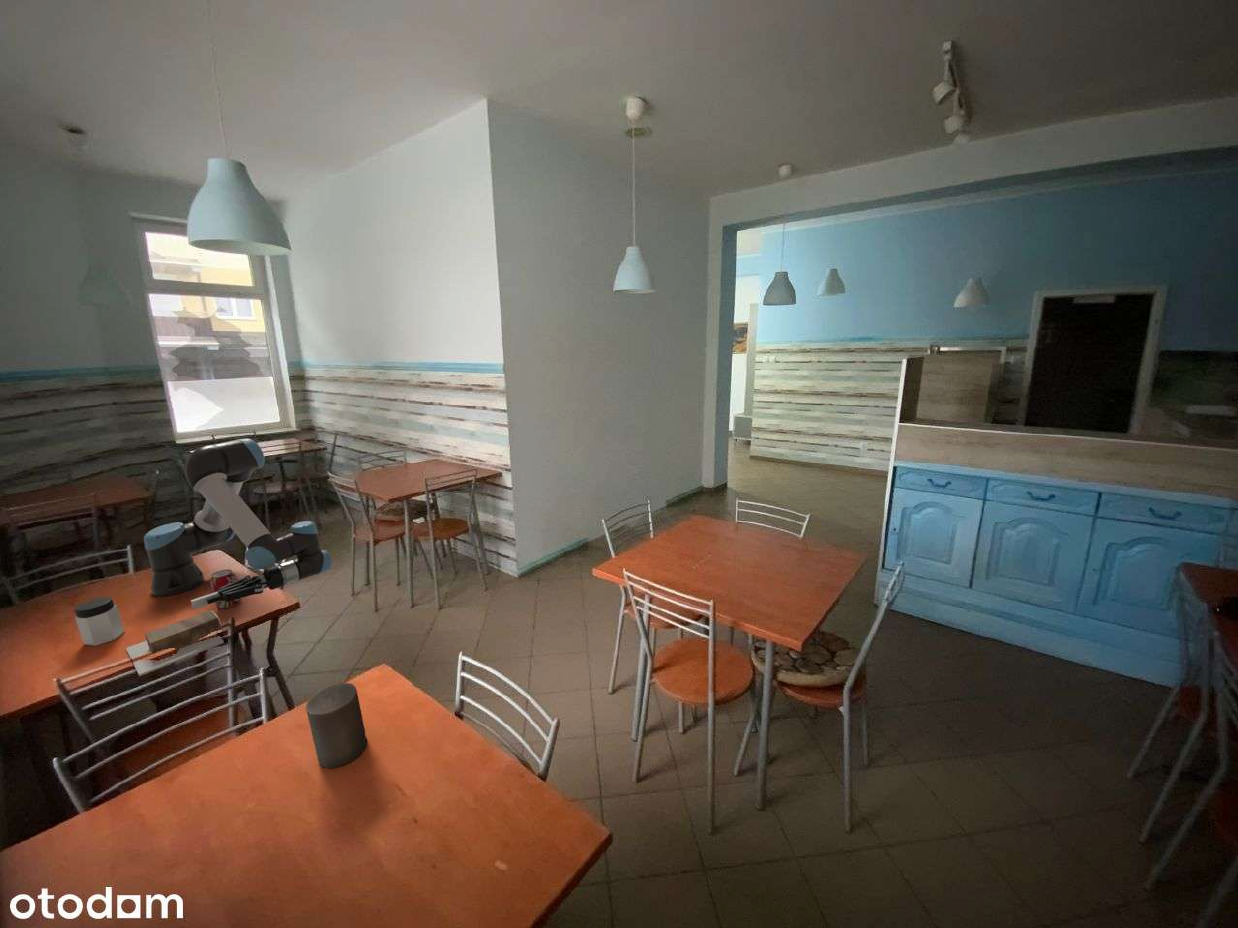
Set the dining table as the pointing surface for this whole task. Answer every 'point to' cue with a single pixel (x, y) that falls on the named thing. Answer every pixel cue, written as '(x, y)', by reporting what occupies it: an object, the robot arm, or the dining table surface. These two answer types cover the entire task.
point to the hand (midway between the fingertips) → (192, 605)
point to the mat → (183, 653)
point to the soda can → (221, 580)
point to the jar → (98, 621)
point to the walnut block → (183, 632)
